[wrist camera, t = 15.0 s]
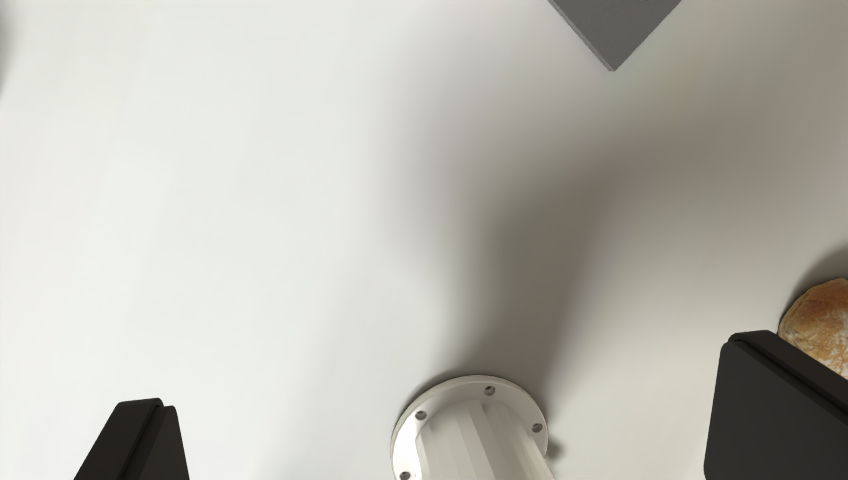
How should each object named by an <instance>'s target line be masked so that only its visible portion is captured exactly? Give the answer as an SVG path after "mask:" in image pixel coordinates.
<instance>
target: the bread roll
mask: <svg viewBox="0 0 848 480" xmlns="http://www.w3.org/2000/svg"><path fill="white" fill-rule="evenodd" d="M778 336H779V337H781V338H782V339H784V340H785V341H787V342H789V343H790V344H792V345H793V346H795V347H797V348H798V349H800V350H801V351H803V352H804V353H806V354H808V355H809V356H811V357H812V358H814V359H815V360H817V361H819V362H820V363H822V364H823V365H825V366H826V367H828V368H830V369H831V370H833V371H834V372H836V373H837V374H839V375H841V376H842V377H844V378H845V379H847V380H848V280H846V279H844V278H837V279H834V280H829V281H828V282H826V283H823V284H820V285H815V286H813V287H811V288H809V290H807V292H806V293H805V294H803V295H802V296H801V297H799V298H798V299H797V300H795V302H794V304H793V305H792V306H791V308H790V309H789V310H788V311H787V313H786V314H785V315H784V317H783V319H782V321H781V323H780V325H779V329H778Z"/></svg>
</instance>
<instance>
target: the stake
mask: <svg viewBox="0 0 848 480" xmlns="http://www.w3.org/2000/svg"><path fill="white" fill-rule="evenodd" d="M548 1H549V2H550V3H551V4H552V6H553V7H554V8H555V9H556V10H557V11H558V13H559V14H560V15H561V16H562V17H563V18H564V19H565V21H566V22H567V23H568V24H569V25H570V26H571V27H572V29H573V30H574V31H575V32H576V33H577V34H578V36H579V37H580V38H581V39H582V40H583V41H584V42H585V44H586V45H587V46H588V47H589V48H590V49H591V51H592V52H593V53H594V54H595V55H596V56H597V57H598V59H599V60H600V61H601V62H602V63H603V64H604V65H605V67H606V68H607V69H608V70H609V71H615V70H616V69H617V68H618V67H619V66H620V65H621V64H622V63H623V62H624V61H625V60H626V59H627V58H628V57H629V56H630V55H631V53H632V52H633V51H634V50H635V49H636V48H637V47H638V46H639V45H640V44H641V43H642V42H643V41H644V40H645V39H646V38H647V36H648V35H649V34H650V33H651V32H652V31H653V30H654V29H655V28H656V27H657V26H658V25H659V24H660V23H661V22H662V20H663V19H664V18H665V17H666V16H667V15H668V14H669V13H670V12H671V11H672V10H673V9H674V8H675V7H676V6H677V5H678V3H679V2H680V1H681V0H548Z"/></svg>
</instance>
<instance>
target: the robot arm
mask: <svg viewBox="0 0 848 480" xmlns="http://www.w3.org/2000/svg"><path fill="white" fill-rule="evenodd" d="M547 444H548V432H547V425H546V422H545V419H544V416H543V414H542V412H541V411H540V409H539V407H538V405H537V404H536V402H535V401H534V400H533V399H532V397H531V396H530V395H529V394H528V393H527V392H526V391H525V390H523V389H522V388H521V387H520V386H518V385H516V384H514V383H512V382H510V381H508V380H506V379H502V378H498V377H495V376H486V375H471V376H462V377H458V378H454V379H450V380H447V381H445V382H443V383H440V384H438V385H436V386H434V387H432V388H431V389H429V390H428V391H426V392H425V393H423V394H422V395H420V396H419V397H418V398H417V399H416V400H415V401H414V402H413V403H412V404H410V405H409V407H408V408H407V409H406V411H405V412H404V413H403V415H402V416H401V417H400V419H399V421H398V423H397V425H396V427H395V430H394V433H393V437H392V441H391V453H390V457H391V463H392V470H393V473H394V477H395V480H555V479H554V477H553V475H552V473H551V471H550V469H549V468H548V466H547V464H546V462H545V460H544V458H545V455H546V452H547ZM704 475H705V478H706V480H848V380H847V379H845V378H844V377H842V376H841V375H839V374H837V373H836V372H834V371H833V370H831V369H830V368H828V367H826V366H825V365H823V364H822V363H820V362H819V361H817V360H815V359H814V358H812V357H811V356H809V355H808V354H806V353H804V352H803V351H801V350H800V349H798V348H797V347H795V346H793V345H792V344H790V343H789V342H787V341H785V340H784V339H782V338H781V337H779V336H778V335H776V334H774V333H773V332H771V331H768V330H759V331H750V332H741V333H735V334H733V335H731V337H730V338H729V339H728V342H727V343H725V344H724V345H723V346H722V348H721V351H720V358H719V365H718V372H717V378H716V385H715V392H714V399H713V406H712V412H711V419H710V426H709V433H708V439H707V446H706V453H705V460H704ZM74 480H190V479H189V474H188V469H187V463H186V458H185V453H184V448H183V442H182V437H181V432H180V427H179V422H178V416H177V412H176V409H175V407H174V406H164V405H163V402H162V400H161V399H160V398H151V399H142V400H133V401H124V402H120V403H118V404H117V406H116V407H115V409H114V410H113V412H112V414H111V416H110V417H109V419H108V421H107V422H106V424H105V426H104V428H103V429H102V431H101V433H100V435H99V436H98V438H97V440H96V442H95V443H94V445H93V447H92V448H91V450H90V452H89V454H88V455H87V457H86V459H85V461H84V462H83V464H82V466H81V467H80V469H79V471H78V473H77V474H76V476H75V478H74Z"/></svg>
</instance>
